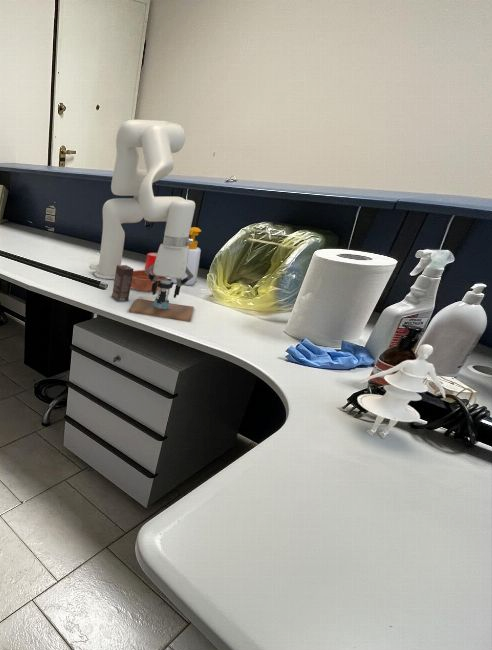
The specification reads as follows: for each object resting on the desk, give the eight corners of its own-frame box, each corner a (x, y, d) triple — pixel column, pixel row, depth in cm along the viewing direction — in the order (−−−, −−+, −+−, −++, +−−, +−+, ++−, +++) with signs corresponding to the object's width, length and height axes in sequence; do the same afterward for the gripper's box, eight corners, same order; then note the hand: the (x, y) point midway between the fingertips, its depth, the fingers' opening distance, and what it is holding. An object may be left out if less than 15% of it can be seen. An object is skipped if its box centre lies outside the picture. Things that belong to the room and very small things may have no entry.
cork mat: (128, 312, 141) (129, 309, 141) (136, 300, 152) (137, 298, 152) (189, 321, 134) (190, 319, 134) (193, 308, 145) (193, 306, 145)
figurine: (406, 428, 84) (461, 339, 74) (425, 456, 76) (489, 360, 66) (331, 413, 88) (373, 327, 78) (342, 438, 80) (390, 346, 70)
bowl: (123, 289, 164) (125, 277, 162) (131, 280, 176) (132, 268, 173) (161, 294, 159) (163, 282, 156) (166, 284, 170) (168, 272, 168)
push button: (173, 307, 144) (179, 279, 138) (170, 312, 140) (177, 283, 134) (153, 303, 146) (159, 276, 141) (150, 308, 142) (156, 280, 137)
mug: (168, 276, 182) (171, 258, 178) (142, 272, 187) (145, 254, 183) (173, 272, 187) (176, 255, 183) (147, 268, 193) (150, 251, 189)
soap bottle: (167, 285, 170) (178, 229, 158) (173, 277, 180) (184, 224, 169) (191, 289, 166) (204, 231, 154) (196, 280, 176) (209, 226, 165)
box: (129, 301, 152) (134, 268, 146) (118, 301, 151) (122, 269, 145) (122, 296, 157) (126, 264, 151) (111, 296, 156) (115, 265, 150)
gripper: (204, 242, 131) (191, 295, 140) (149, 237, 138) (141, 289, 147) (203, 246, 125) (189, 302, 134) (146, 241, 132) (137, 294, 141)
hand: (164, 294), depth 140 cm, fingers open, 6 cm apart
